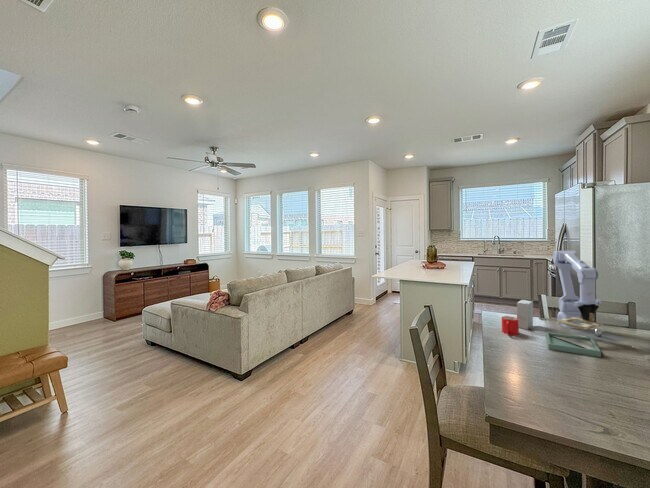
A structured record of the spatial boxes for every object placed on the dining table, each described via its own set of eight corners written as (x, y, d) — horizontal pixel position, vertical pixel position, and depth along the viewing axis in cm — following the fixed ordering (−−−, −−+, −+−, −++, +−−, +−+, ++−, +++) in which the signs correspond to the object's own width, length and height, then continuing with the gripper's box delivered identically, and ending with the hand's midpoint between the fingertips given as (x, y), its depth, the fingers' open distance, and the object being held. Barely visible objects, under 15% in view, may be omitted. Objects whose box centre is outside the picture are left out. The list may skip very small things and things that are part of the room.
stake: (589, 334, 147) (589, 325, 147) (593, 333, 147) (593, 325, 147) (603, 338, 141) (603, 329, 141) (607, 338, 141) (607, 329, 141)
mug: (499, 335, 154) (499, 320, 154) (503, 329, 164) (502, 315, 163) (516, 338, 149) (516, 323, 149) (519, 331, 159) (519, 317, 158)
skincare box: (521, 324, 170) (521, 299, 170) (533, 326, 166) (533, 300, 165) (516, 327, 165) (516, 301, 164) (528, 330, 160) (528, 303, 160)
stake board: (572, 335, 150) (572, 332, 150) (596, 332, 153) (596, 329, 153) (605, 346, 136) (605, 343, 136) (630, 342, 138) (630, 339, 138)
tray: (548, 349, 135) (548, 343, 135) (545, 336, 150) (545, 332, 150) (600, 357, 125) (600, 351, 125) (592, 343, 140) (592, 337, 140)
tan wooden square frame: (582, 329, 135) (582, 319, 135) (557, 322, 147) (556, 312, 146) (603, 326, 137) (603, 315, 137) (576, 319, 149) (576, 309, 149)
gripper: (584, 295, 137) (584, 323, 138) (608, 292, 140) (608, 320, 141) (569, 292, 144) (569, 319, 145) (592, 290, 147) (592, 316, 147)
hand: (587, 319), depth 143 cm, fingers closed on tan wooden square frame
